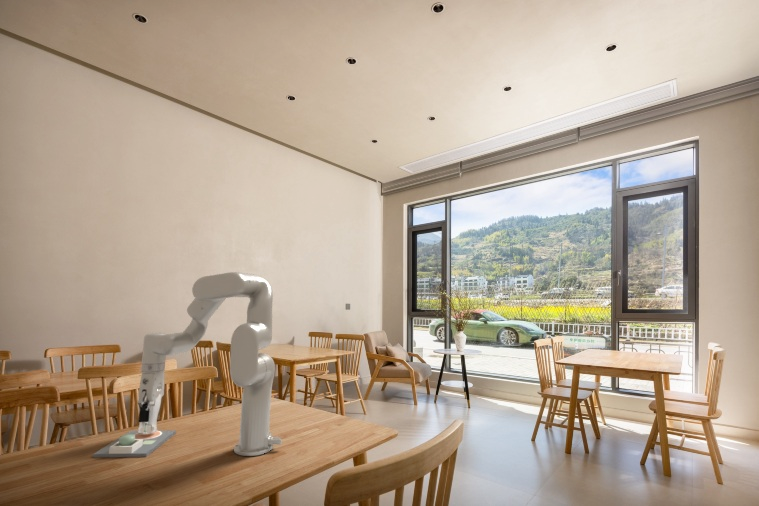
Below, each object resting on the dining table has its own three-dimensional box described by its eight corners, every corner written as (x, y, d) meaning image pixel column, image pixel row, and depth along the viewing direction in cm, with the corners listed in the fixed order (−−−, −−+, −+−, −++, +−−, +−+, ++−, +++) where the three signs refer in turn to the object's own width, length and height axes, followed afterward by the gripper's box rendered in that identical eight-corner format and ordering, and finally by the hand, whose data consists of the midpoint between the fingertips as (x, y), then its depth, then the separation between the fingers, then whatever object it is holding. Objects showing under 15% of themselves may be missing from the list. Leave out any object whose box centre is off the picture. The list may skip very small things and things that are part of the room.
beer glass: (148, 436, 136) (152, 391, 138) (131, 434, 138) (135, 390, 139) (162, 429, 143) (166, 387, 145) (146, 427, 144) (150, 385, 146)
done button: (137, 440, 129) (137, 434, 130) (130, 445, 125) (130, 438, 125) (123, 440, 129) (124, 434, 129) (115, 445, 125) (116, 439, 125)
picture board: (175, 433, 146) (176, 424, 146) (146, 456, 124) (147, 446, 124) (130, 433, 144) (131, 425, 145) (92, 457, 122) (93, 447, 123)
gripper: (152, 372, 135) (147, 426, 133) (174, 363, 152) (169, 411, 150) (129, 371, 134) (124, 426, 132) (153, 363, 151) (149, 412, 149)
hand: (148, 418), depth 141 cm, fingers closed on beer glass, 6 cm apart
